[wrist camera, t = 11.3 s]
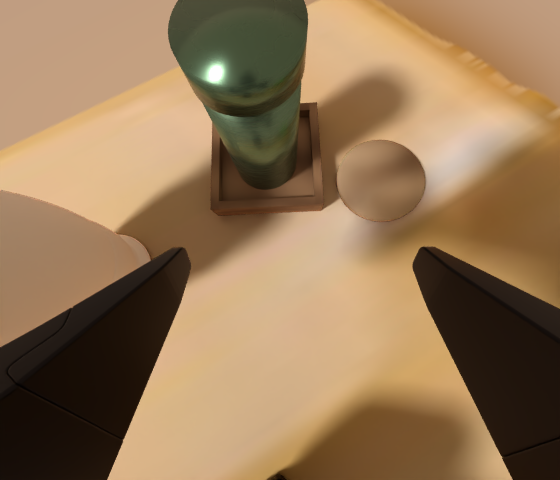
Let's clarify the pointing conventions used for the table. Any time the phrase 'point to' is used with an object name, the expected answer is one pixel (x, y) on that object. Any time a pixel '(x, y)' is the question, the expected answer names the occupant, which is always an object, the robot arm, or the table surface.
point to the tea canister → (247, 77)
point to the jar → (54, 261)
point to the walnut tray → (287, 198)
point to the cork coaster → (380, 180)
